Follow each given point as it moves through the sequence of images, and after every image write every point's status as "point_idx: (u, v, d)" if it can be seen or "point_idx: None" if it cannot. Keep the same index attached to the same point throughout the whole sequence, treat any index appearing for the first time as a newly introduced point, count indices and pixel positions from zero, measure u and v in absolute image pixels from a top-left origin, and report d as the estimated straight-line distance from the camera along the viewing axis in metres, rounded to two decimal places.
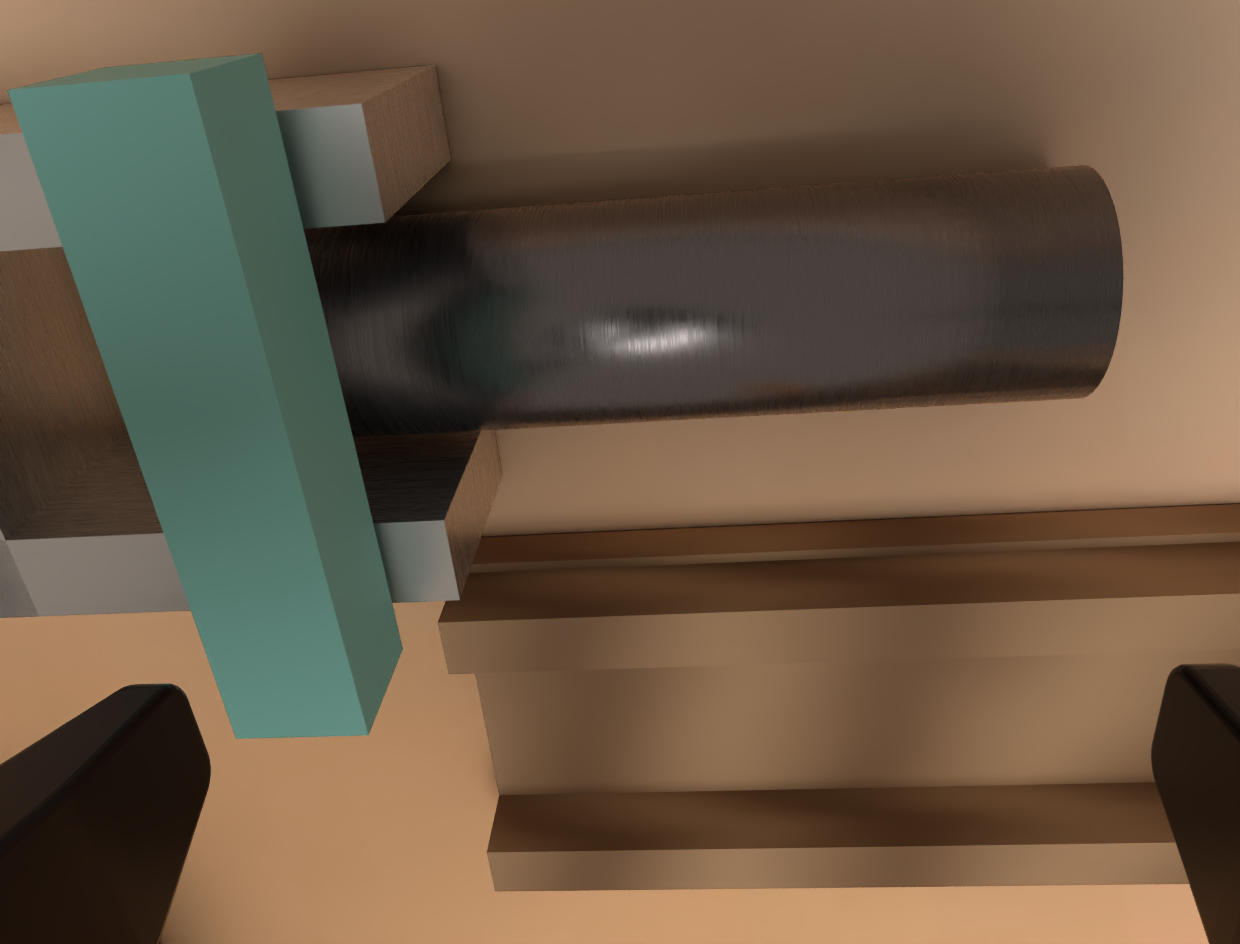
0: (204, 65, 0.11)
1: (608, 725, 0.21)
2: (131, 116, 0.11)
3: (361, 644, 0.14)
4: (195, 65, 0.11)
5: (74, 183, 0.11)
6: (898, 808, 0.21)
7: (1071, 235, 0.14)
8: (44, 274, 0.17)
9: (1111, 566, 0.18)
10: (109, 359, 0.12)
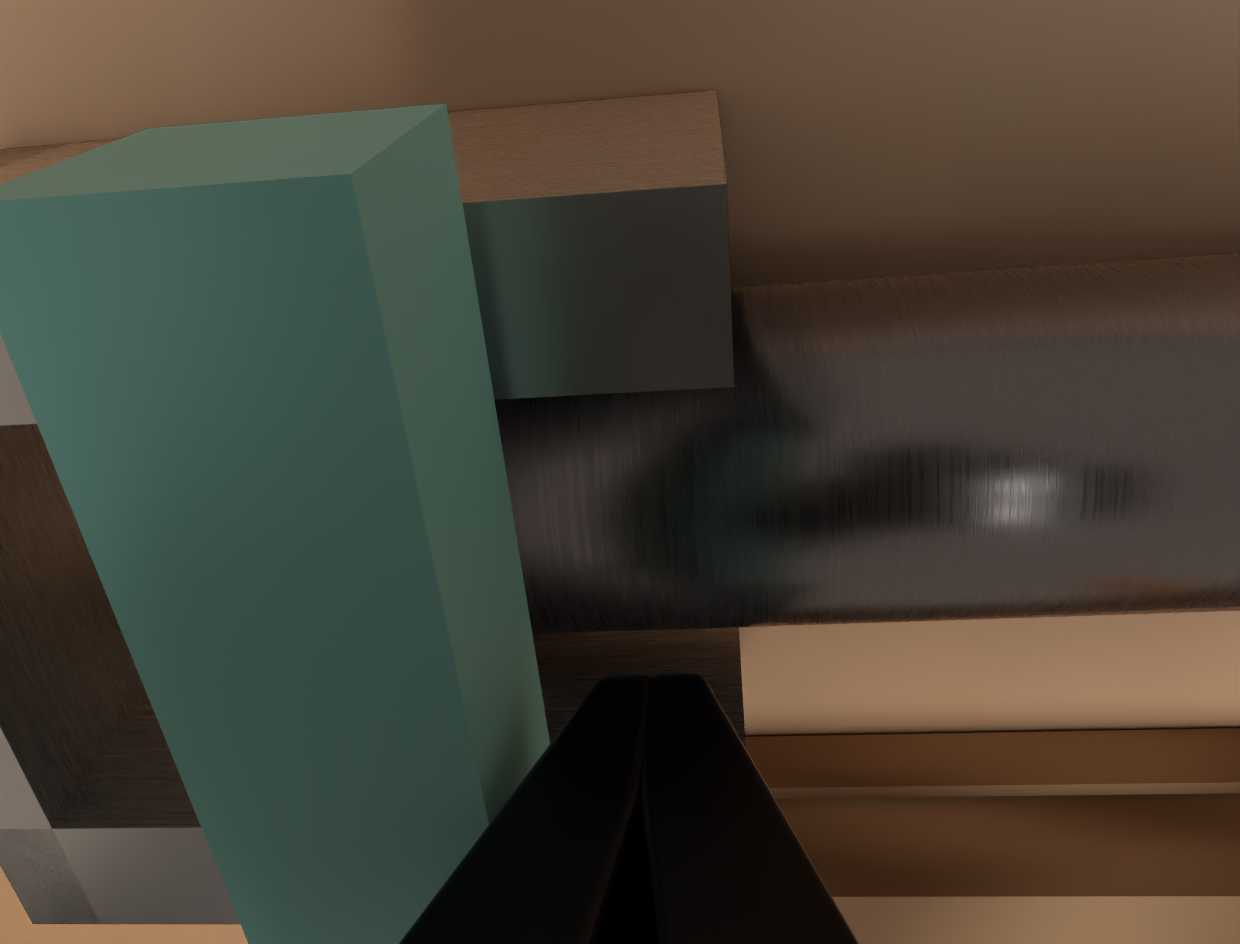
0: (359, 140, 0.05)
1: None
2: (219, 261, 0.05)
3: None
4: (338, 138, 0.05)
5: (93, 389, 0.05)
6: None
7: None
8: None
9: None
10: (159, 691, 0.06)
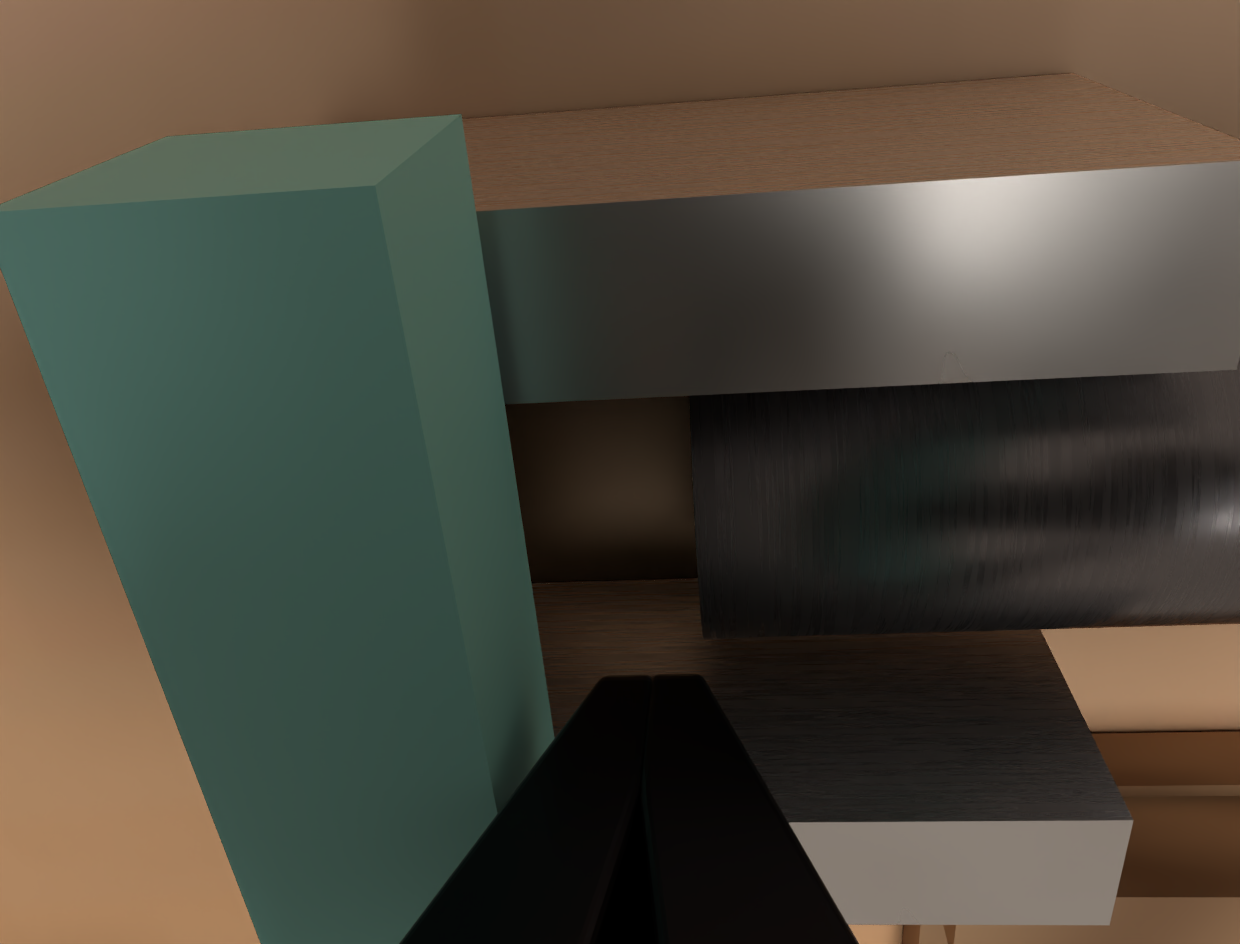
0: (379, 151, 0.06)
1: None
2: (244, 272, 0.05)
3: None
4: (358, 149, 0.06)
5: (117, 394, 0.05)
6: None
7: None
8: None
9: None
10: (175, 691, 0.06)
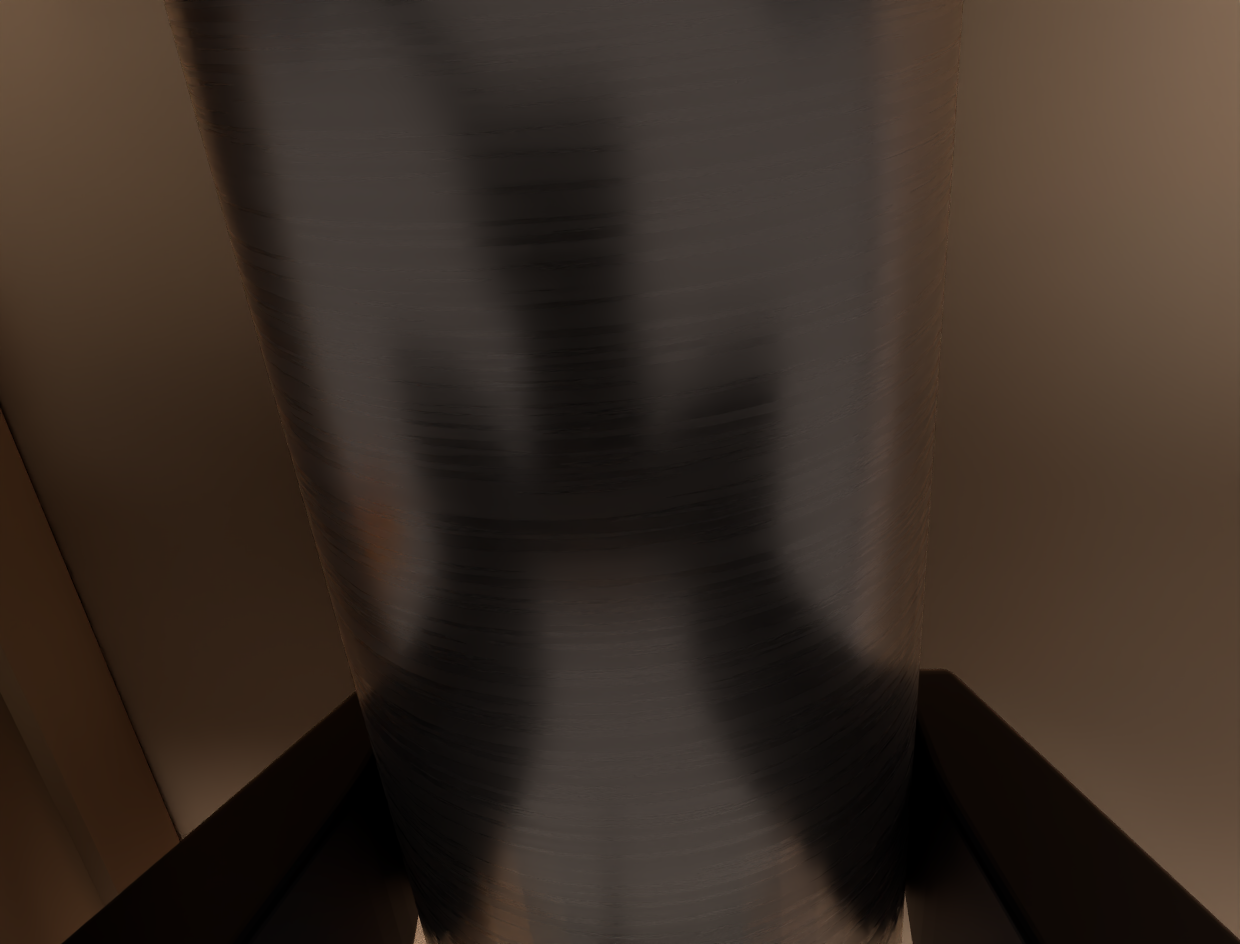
0: None
1: None
2: None
3: None
4: None
5: None
6: None
7: None
8: None
9: None
10: None
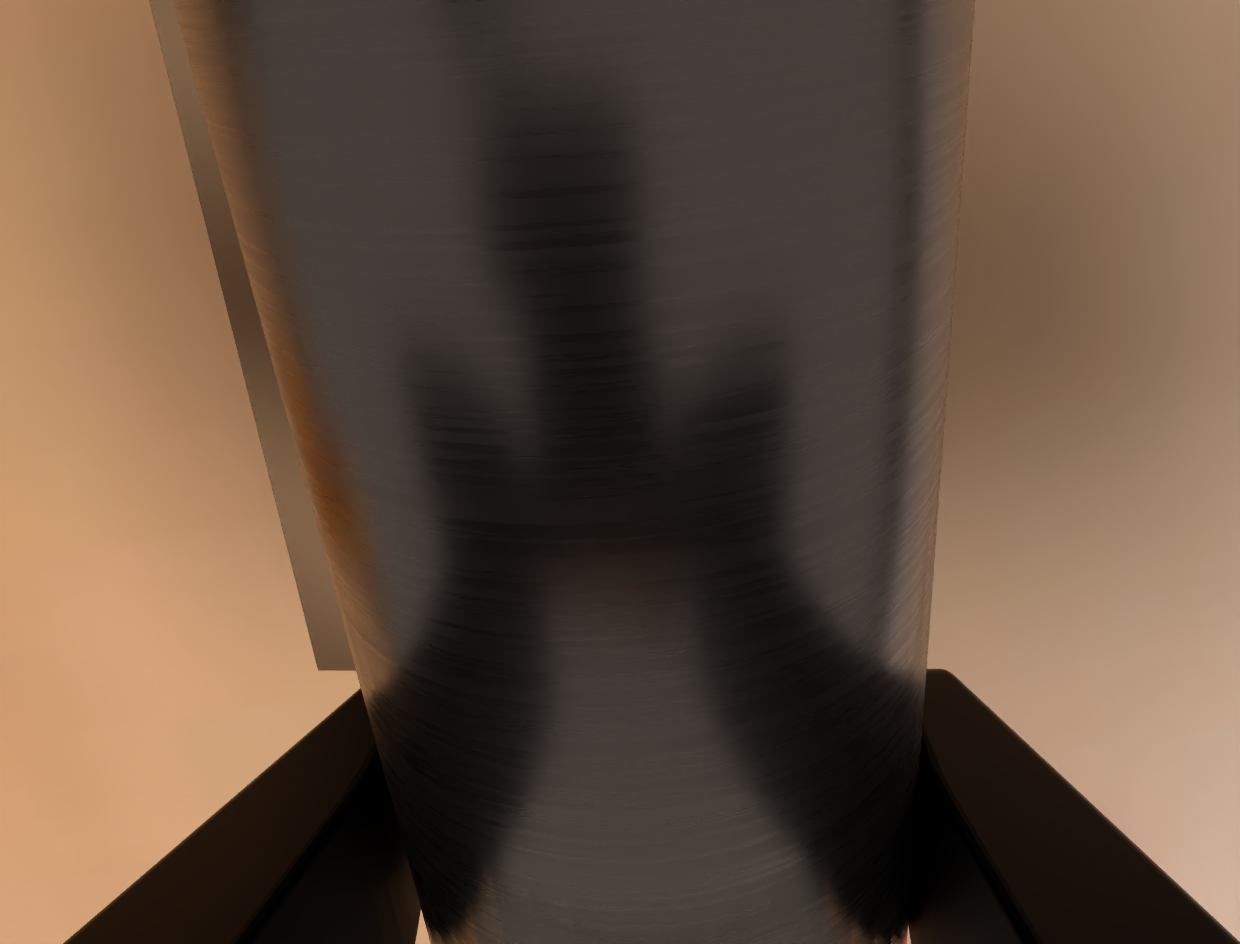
0: None
1: None
2: None
3: None
4: None
5: None
6: None
7: None
8: None
9: None
10: None
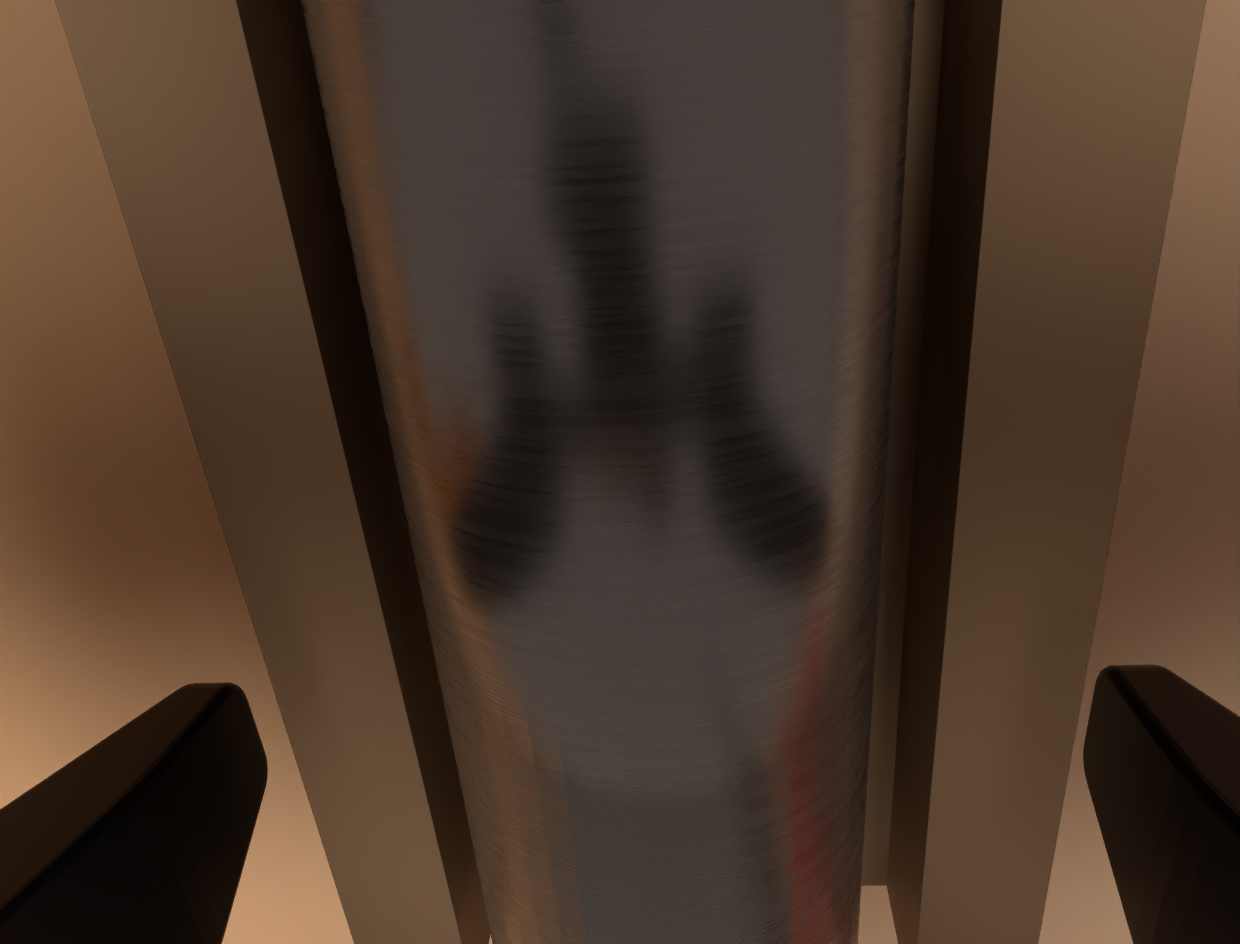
0: None
1: None
2: None
3: None
4: None
5: None
6: (372, 373, 0.09)
7: None
8: None
9: None
10: None
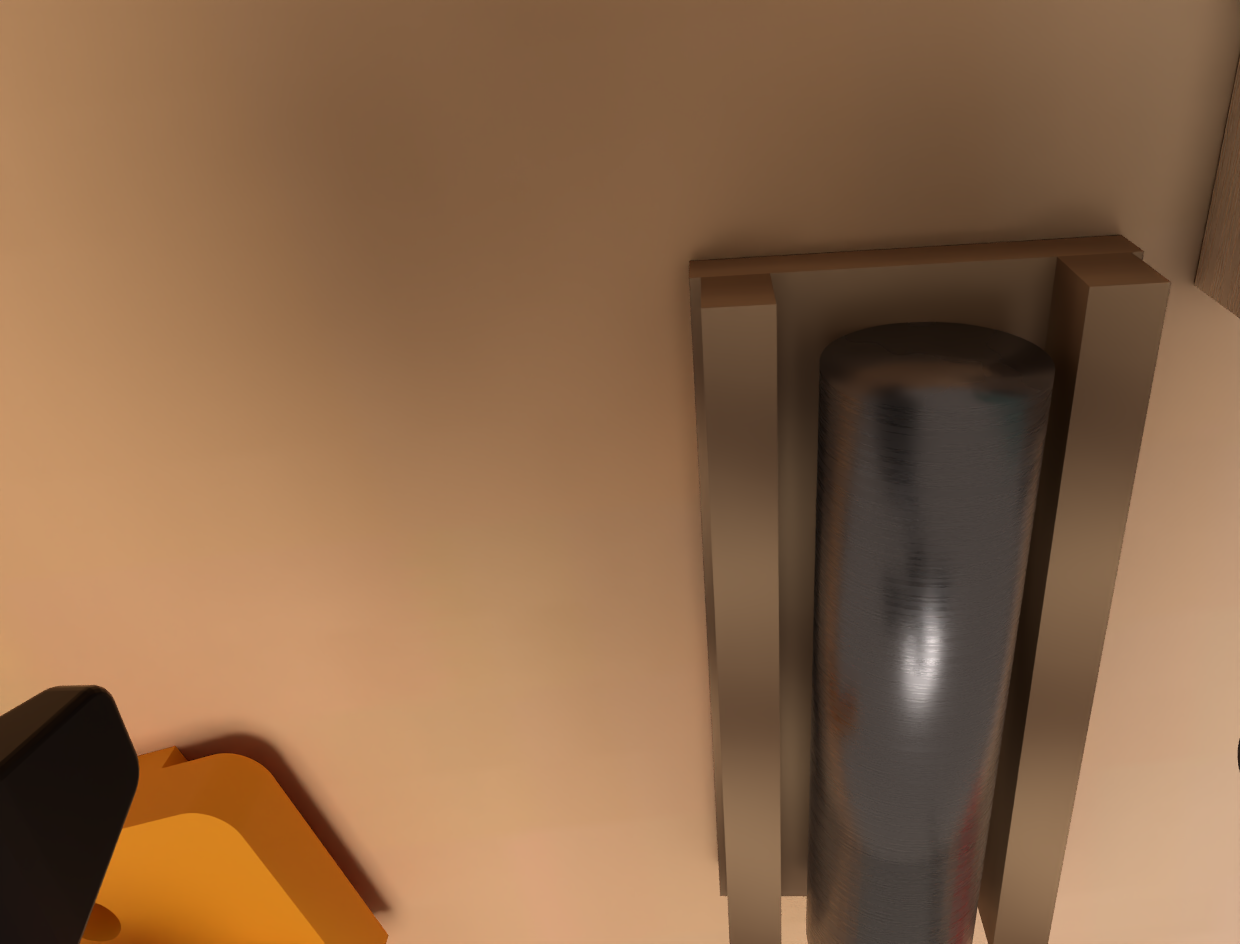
0: None
1: None
2: None
3: None
4: None
5: None
6: None
7: None
8: None
9: None
10: None
